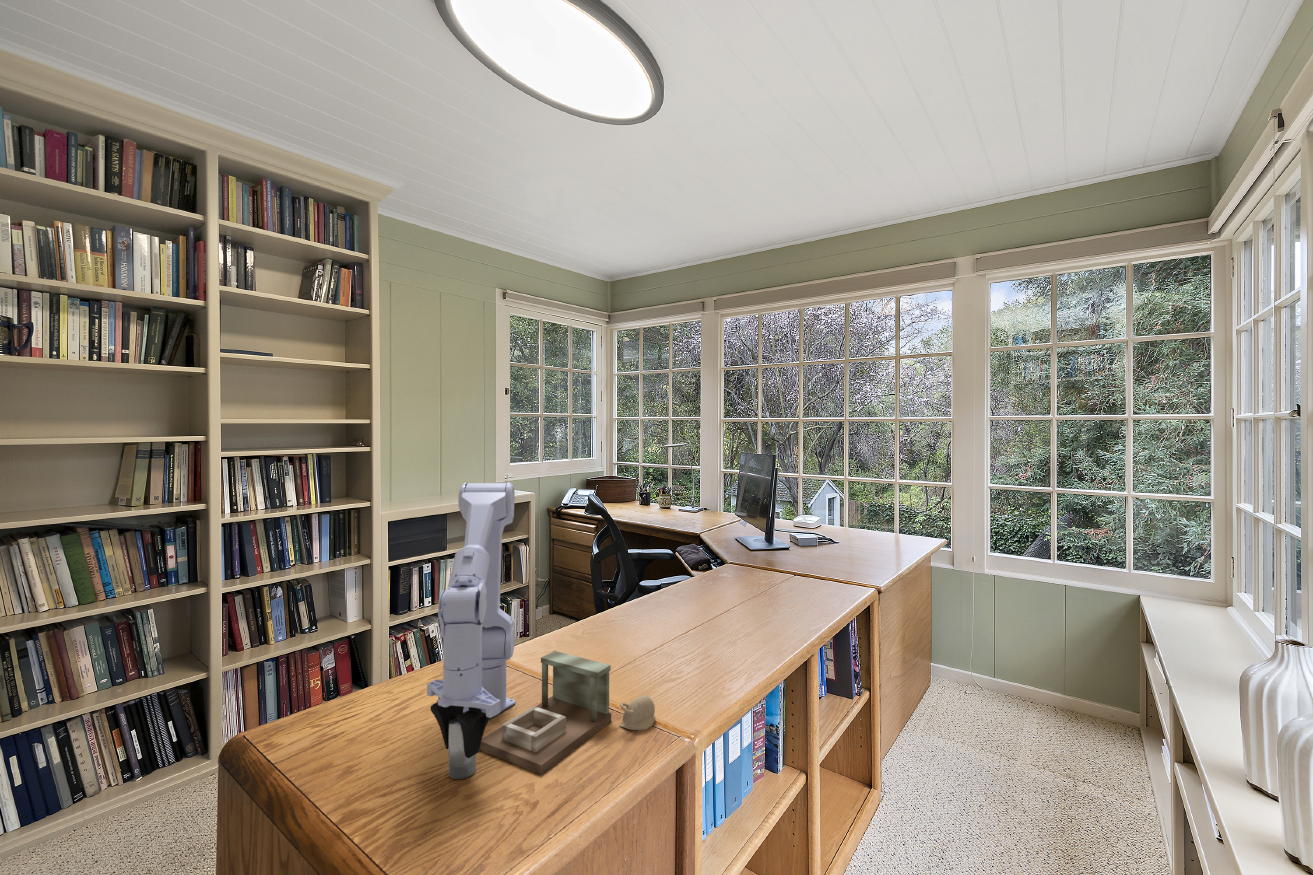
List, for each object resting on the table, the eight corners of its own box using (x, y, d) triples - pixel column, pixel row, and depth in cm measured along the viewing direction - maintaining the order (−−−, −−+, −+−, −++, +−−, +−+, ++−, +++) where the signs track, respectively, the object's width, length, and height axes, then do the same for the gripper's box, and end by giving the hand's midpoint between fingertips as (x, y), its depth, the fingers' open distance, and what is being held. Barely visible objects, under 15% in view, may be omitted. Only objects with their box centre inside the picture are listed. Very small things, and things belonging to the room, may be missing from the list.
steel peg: (442, 773, 84) (443, 722, 85) (463, 760, 88) (463, 711, 88) (460, 781, 82) (460, 728, 83) (481, 768, 86) (481, 717, 86)
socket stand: (478, 749, 92) (479, 687, 92) (553, 702, 108) (553, 650, 108) (541, 774, 85) (541, 707, 85) (611, 721, 101) (611, 665, 101)
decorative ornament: (661, 723, 101) (661, 694, 101) (624, 738, 96) (624, 707, 96) (648, 714, 104) (648, 686, 104) (611, 728, 99) (612, 698, 99)
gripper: (410, 662, 86) (409, 749, 85) (474, 683, 78) (474, 778, 78) (447, 647, 92) (447, 728, 92) (510, 666, 84) (510, 753, 84)
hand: (462, 750), depth 85 cm, fingers closed on steel peg, 4 cm apart
